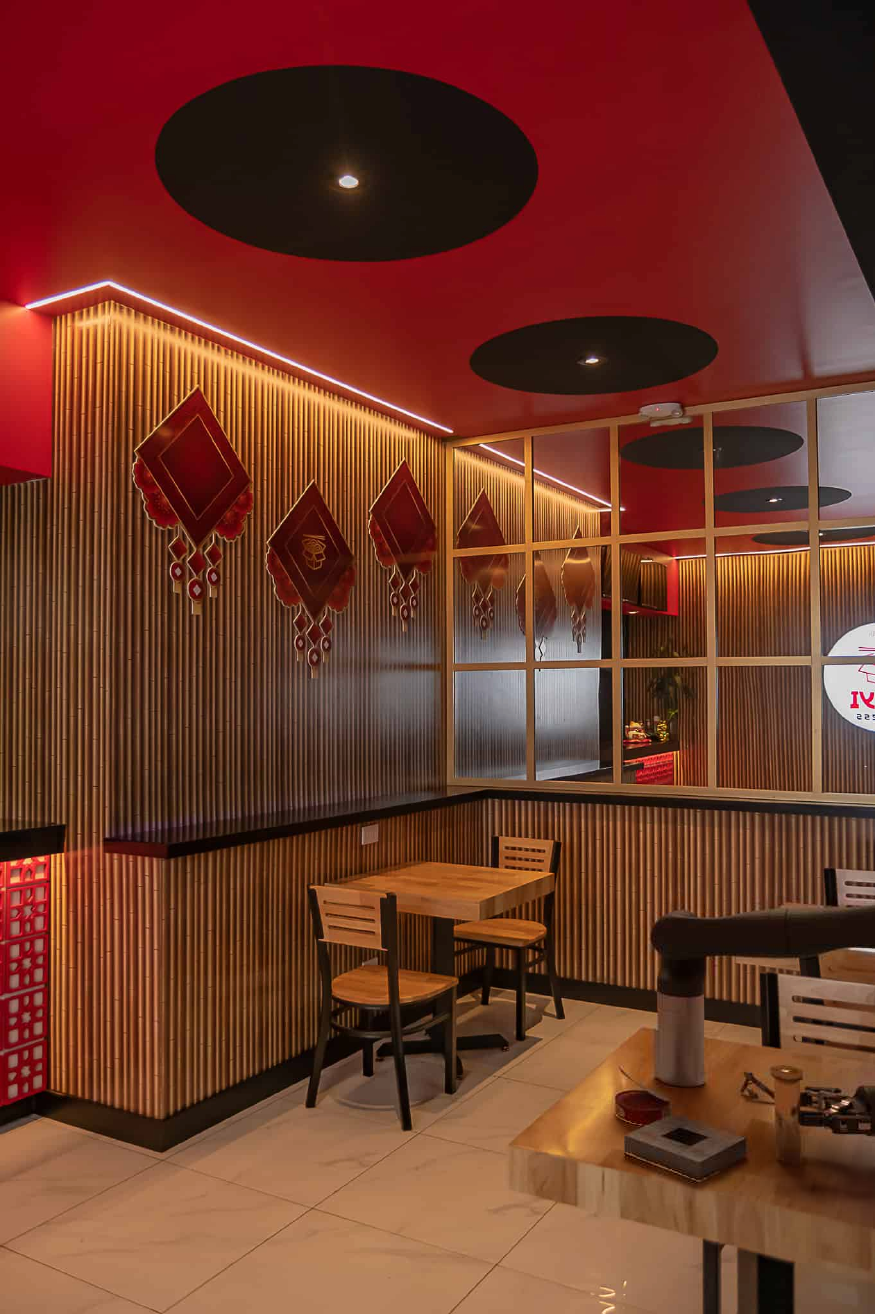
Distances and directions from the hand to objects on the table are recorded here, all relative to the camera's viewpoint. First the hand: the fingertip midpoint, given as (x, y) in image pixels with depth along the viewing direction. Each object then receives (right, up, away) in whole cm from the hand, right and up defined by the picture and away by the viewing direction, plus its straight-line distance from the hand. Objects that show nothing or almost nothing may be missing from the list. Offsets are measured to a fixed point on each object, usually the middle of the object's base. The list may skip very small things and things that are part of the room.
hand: (790, 1108), depth 157 cm
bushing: (-1, -8, -1) cm, 8 cm away
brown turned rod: (+4, -11, +26) cm, 29 cm away
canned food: (-20, -10, +17) cm, 29 cm away
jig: (-17, -8, 0) cm, 19 cm away
